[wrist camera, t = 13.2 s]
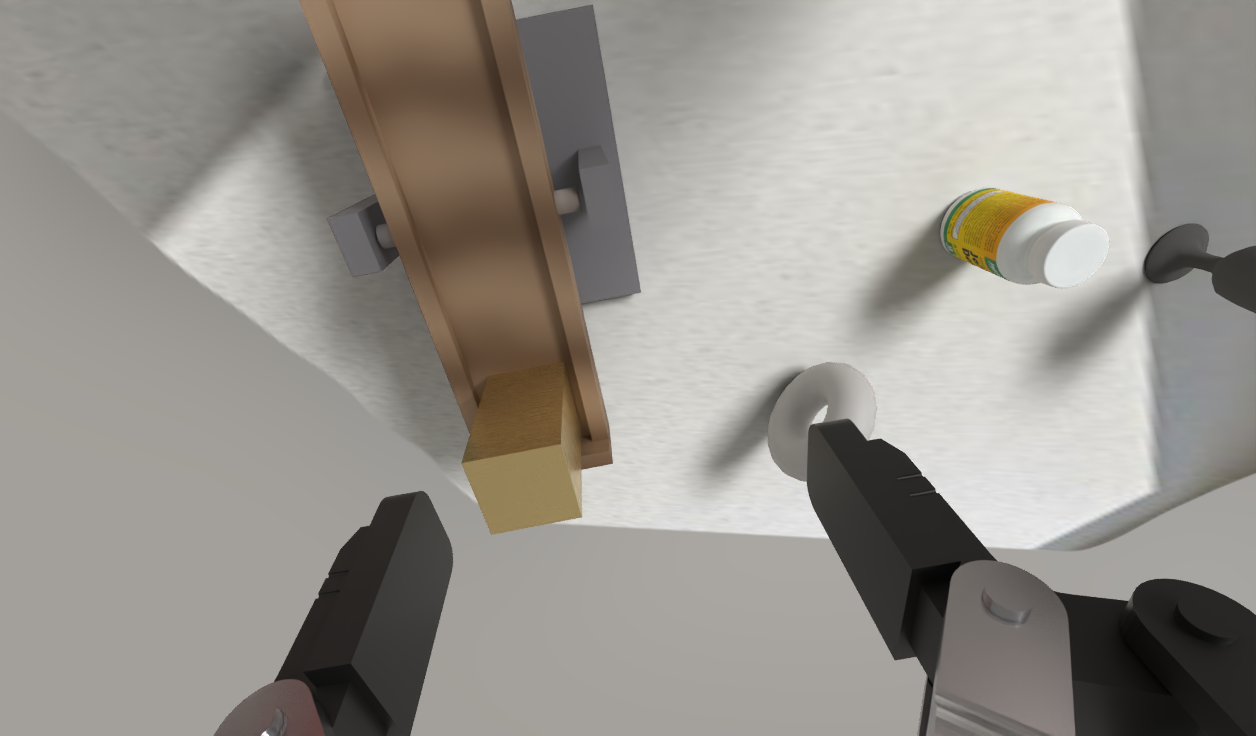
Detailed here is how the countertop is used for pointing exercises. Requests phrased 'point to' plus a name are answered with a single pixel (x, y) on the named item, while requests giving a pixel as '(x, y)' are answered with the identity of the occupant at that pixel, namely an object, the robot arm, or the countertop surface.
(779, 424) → the donut
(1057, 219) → the supplement bottle
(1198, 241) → the sundae
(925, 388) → the countertop surface
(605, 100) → the pivot stand
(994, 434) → the countertop surface
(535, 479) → the rider
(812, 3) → the countertop surface
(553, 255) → the beam
